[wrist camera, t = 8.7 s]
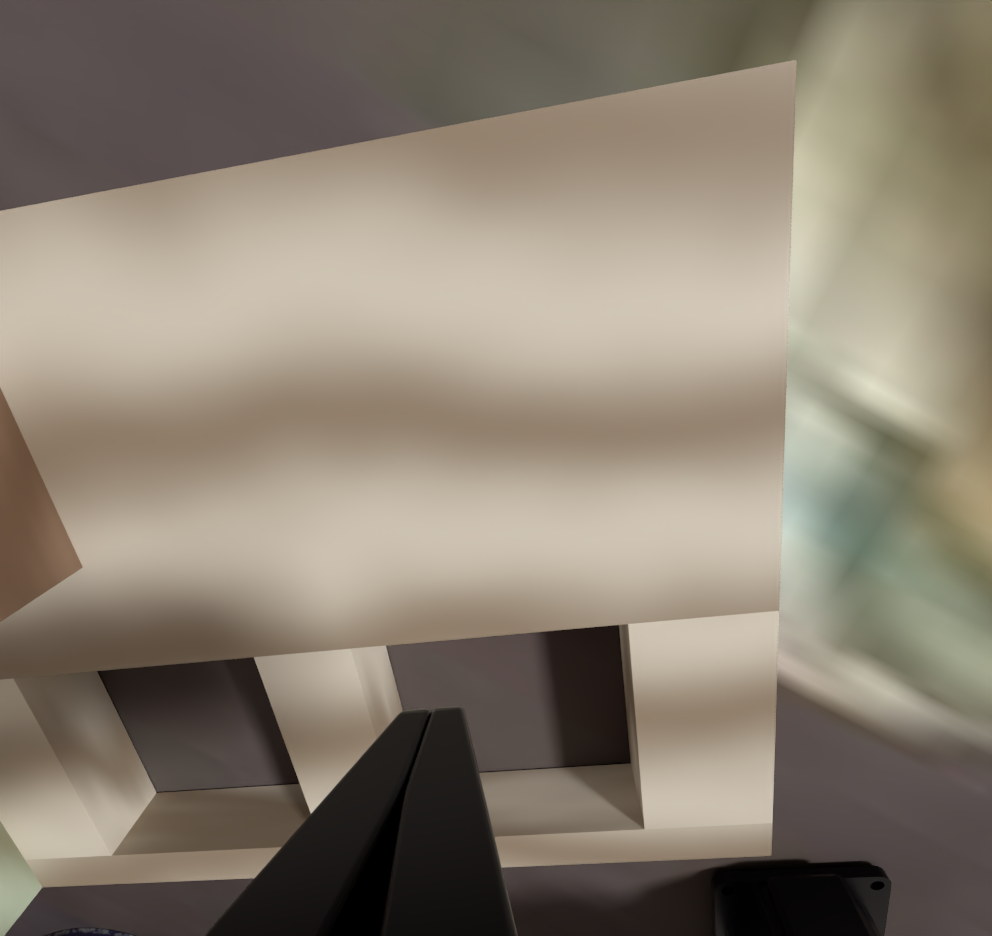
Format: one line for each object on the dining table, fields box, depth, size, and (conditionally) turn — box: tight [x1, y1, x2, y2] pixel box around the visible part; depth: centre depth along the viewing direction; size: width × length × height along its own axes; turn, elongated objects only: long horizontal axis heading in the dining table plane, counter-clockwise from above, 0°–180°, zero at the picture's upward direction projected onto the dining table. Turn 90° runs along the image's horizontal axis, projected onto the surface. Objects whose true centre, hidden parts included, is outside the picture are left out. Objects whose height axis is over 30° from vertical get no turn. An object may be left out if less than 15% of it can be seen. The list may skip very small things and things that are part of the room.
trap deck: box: [0, 60, 797, 936], centre depth 16 cm, size 22×28×4 cm
